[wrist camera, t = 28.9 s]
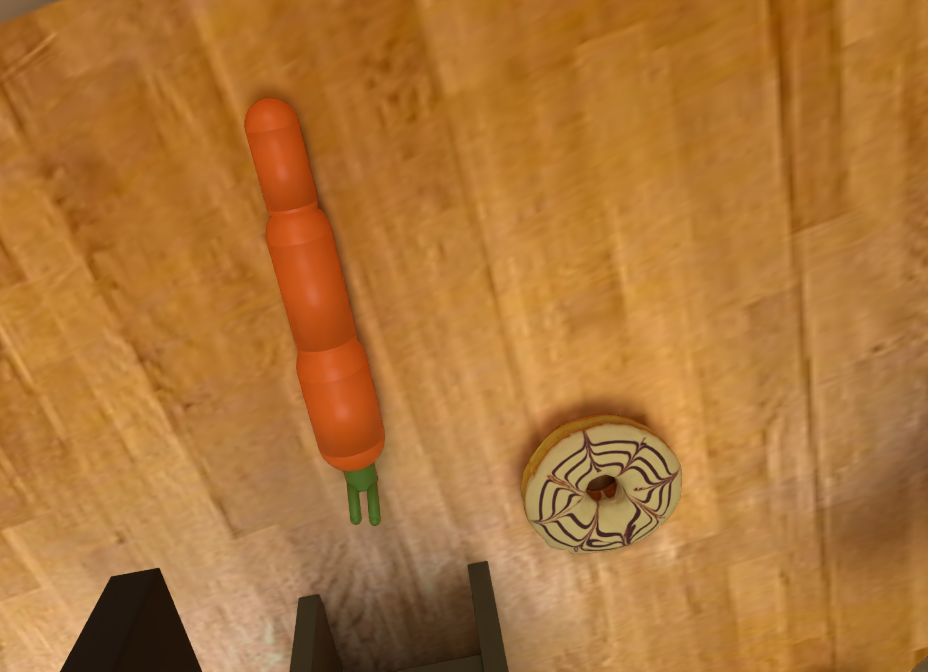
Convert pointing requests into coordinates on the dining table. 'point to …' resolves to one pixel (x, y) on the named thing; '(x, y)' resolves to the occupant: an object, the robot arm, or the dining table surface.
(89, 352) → the dining table surface
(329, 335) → the carrot
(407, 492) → the dining table surface
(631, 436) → the decorated donut
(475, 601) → the stand
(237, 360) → the dining table surface
